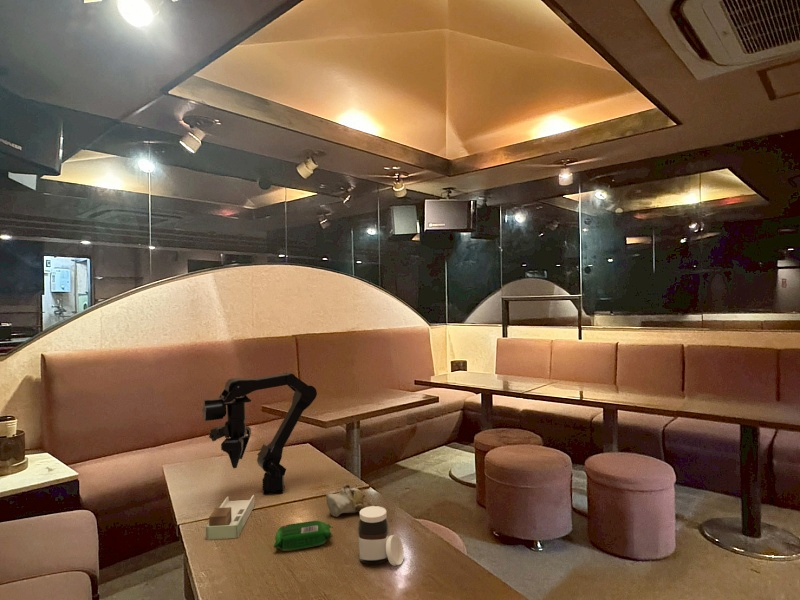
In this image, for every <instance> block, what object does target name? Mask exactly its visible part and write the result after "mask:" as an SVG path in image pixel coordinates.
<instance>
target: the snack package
mask: <svg viewBox="0 0 800 600" xmlns="http://www.w3.org/2000/svg"><path fill="white" fill-rule="evenodd" d="M331 528H334V526H331V525H330V524H327V523H326V522H323V521H321V520H310V521H303V522H296V523H290V524H284V525H282V526H280V527H279V528H278V529H277V531H276V534H275V537H274V539H275V542H274V544H273V547H274V548H277V549H280V550H281V551H282V552H291V551H296V550H303V549H307V548H308V549H309V548H314V547H319V546H322V545H324V544H325V543H326V542H327V541H328V540H329V539H330V538H331V537H332V535H333V534H332V532H331V530H330V529H331Z"/></svg>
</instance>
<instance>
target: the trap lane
mask: <svg viewBox="0 0 800 600" xmlns="http://www.w3.org/2000/svg"><path fill="white" fill-rule="evenodd" d="M229 496H230V495H229ZM229 496H226V498H225V499H224V500H223V502H222V503H221V504H220V506H219V507H218V508H228V507H231V519H232V521H231V523H230V525H221V526H209V522H208V523H207V524H206V526H205V540H207V541H209V540H226V539H238V538H239V537H240V534H241V532H242V530H243V529H244V527H245V525H246V522H247V521H248V520H249V517H250V515H251V514H252V511H253V509H254V508H255V494H253V495H252V496H251V497H250V499H249V500H247V499H244V500H243V499H241V500H239V499H238V500H230V497H229Z"/></svg>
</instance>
